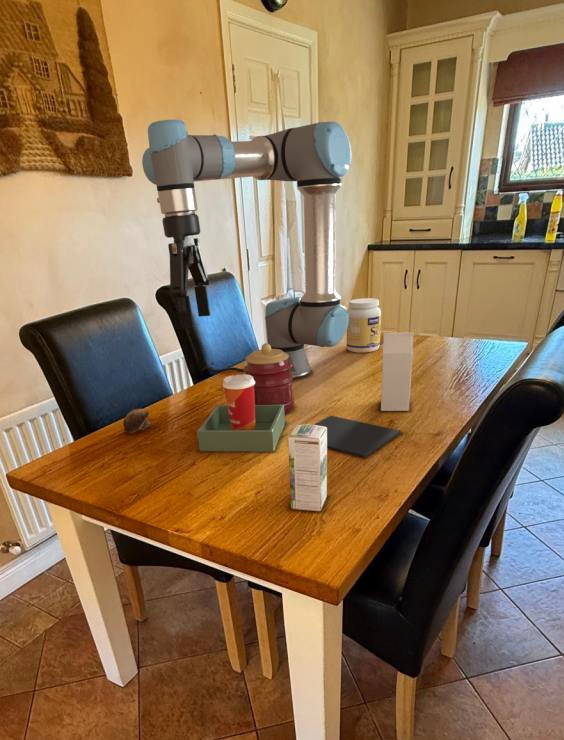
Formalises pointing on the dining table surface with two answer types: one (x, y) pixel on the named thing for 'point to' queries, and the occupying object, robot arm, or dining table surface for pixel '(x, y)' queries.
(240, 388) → the paper cup
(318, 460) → the syrup box
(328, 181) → the robot arm
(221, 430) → the crate
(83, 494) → the dining table surface
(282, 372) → the kitchen canister
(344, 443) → the placemat
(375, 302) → the supplement tub
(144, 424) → the toy hedgehog
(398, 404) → the milk carton
